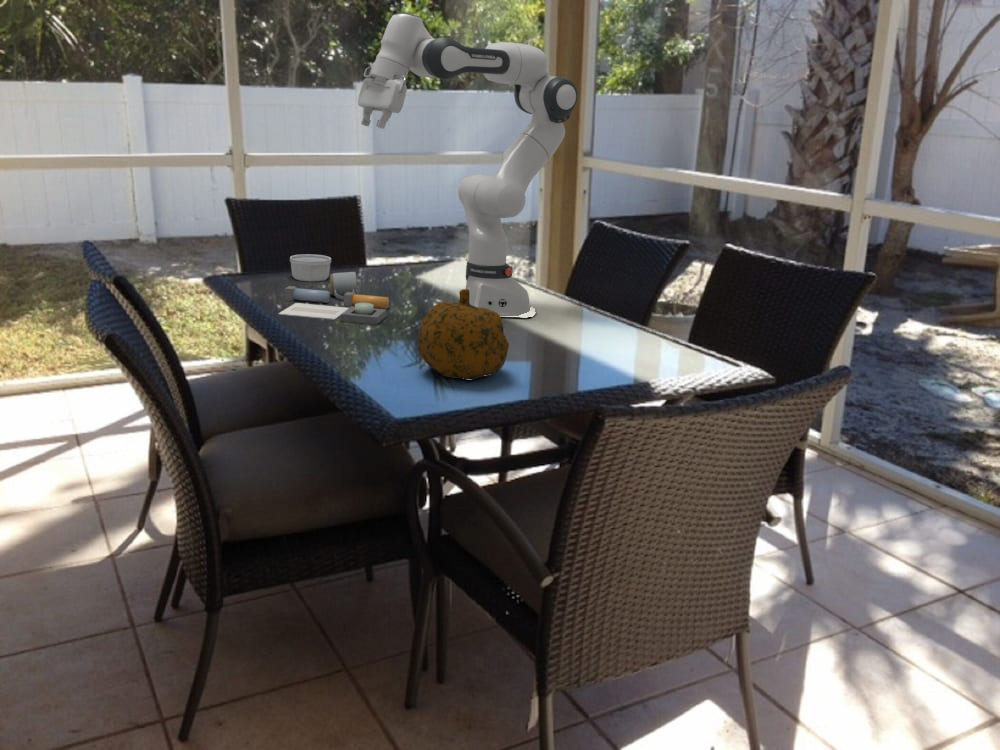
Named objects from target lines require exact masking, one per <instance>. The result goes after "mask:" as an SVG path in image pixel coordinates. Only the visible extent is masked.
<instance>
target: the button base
mask: <svg viewBox="0 0 1000 750" xmlns="http://www.w3.org/2000/svg"><path fill="white" fill-rule="evenodd" d="M348 308H349V309H347V310H346V311H345V312H343V313H342V314H341V316H340V321H341V322H342V323H343V322H344V323H345V322H346V323H356V324H368V325H378V324H380V323H381V322H382V321H383V320H384V319H385V318H386V317H387V309H378V308H373V314H369V315H364V314H356V313H355V306H351V307H348Z"/></svg>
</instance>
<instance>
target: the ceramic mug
mask: <svg viewBox="0 0 1000 750" xmlns="http://www.w3.org/2000/svg"><path fill="white" fill-rule="evenodd" d="M357 281H358V280H357V274H356V271H348V272H345V271H344V272H333V273H331V274H329V290H330V291H329V292H330V296H333V297H335V298H336V299H337V300H339V301H344V294H345V293H347V292H353V293H356V294H357V293H358V286H357V285H358V283H357ZM357 295H358V294H357Z"/></svg>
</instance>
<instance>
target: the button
mask: <svg viewBox="0 0 1000 750" xmlns="http://www.w3.org/2000/svg"><path fill="white" fill-rule="evenodd" d="M354 307H355V313H356V314H364V315H369V314H373V304H371V303H356V304H355V306H354Z"/></svg>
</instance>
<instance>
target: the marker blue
mask: <svg viewBox="0 0 1000 750" xmlns="http://www.w3.org/2000/svg"><path fill="white" fill-rule="evenodd" d="M330 298H331V292H330V291H329V290H319V289H307V288H298V286H293V285H288V286H287V287H285V288H284V301H286V302H287V301H288V302H294V301H300V302H301V301H303V302H309V303H310V302H311V303H323V304H328V303H330Z"/></svg>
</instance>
